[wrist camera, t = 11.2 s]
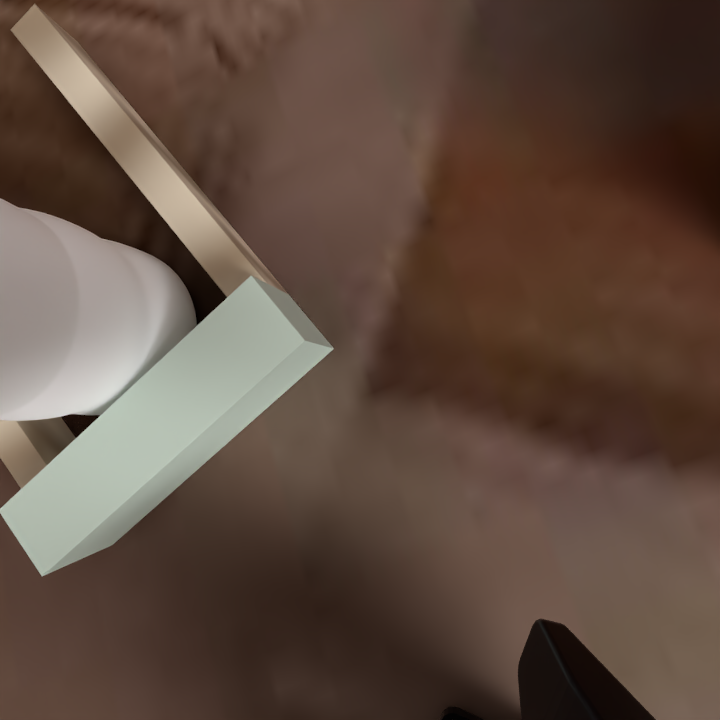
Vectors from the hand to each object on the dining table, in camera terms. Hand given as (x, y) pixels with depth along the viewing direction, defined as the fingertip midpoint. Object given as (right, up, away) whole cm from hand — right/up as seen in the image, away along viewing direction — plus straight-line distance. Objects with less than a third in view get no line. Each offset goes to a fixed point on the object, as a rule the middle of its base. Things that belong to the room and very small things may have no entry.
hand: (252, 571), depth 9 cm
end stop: (-5, +1, +15) cm, 16 cm away
